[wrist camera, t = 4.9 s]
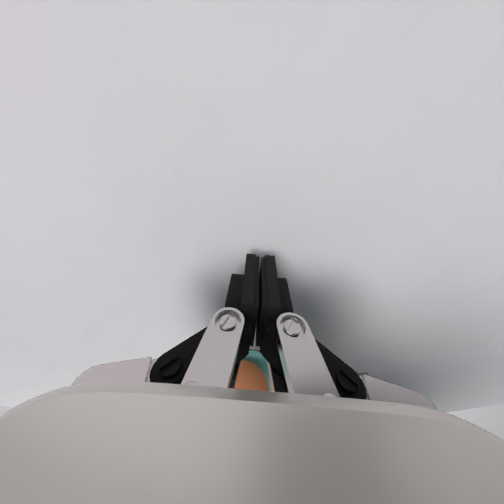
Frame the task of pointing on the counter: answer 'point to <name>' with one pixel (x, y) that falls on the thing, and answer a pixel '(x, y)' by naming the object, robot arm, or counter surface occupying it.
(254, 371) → the ball
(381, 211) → the counter surface
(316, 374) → the robot arm
